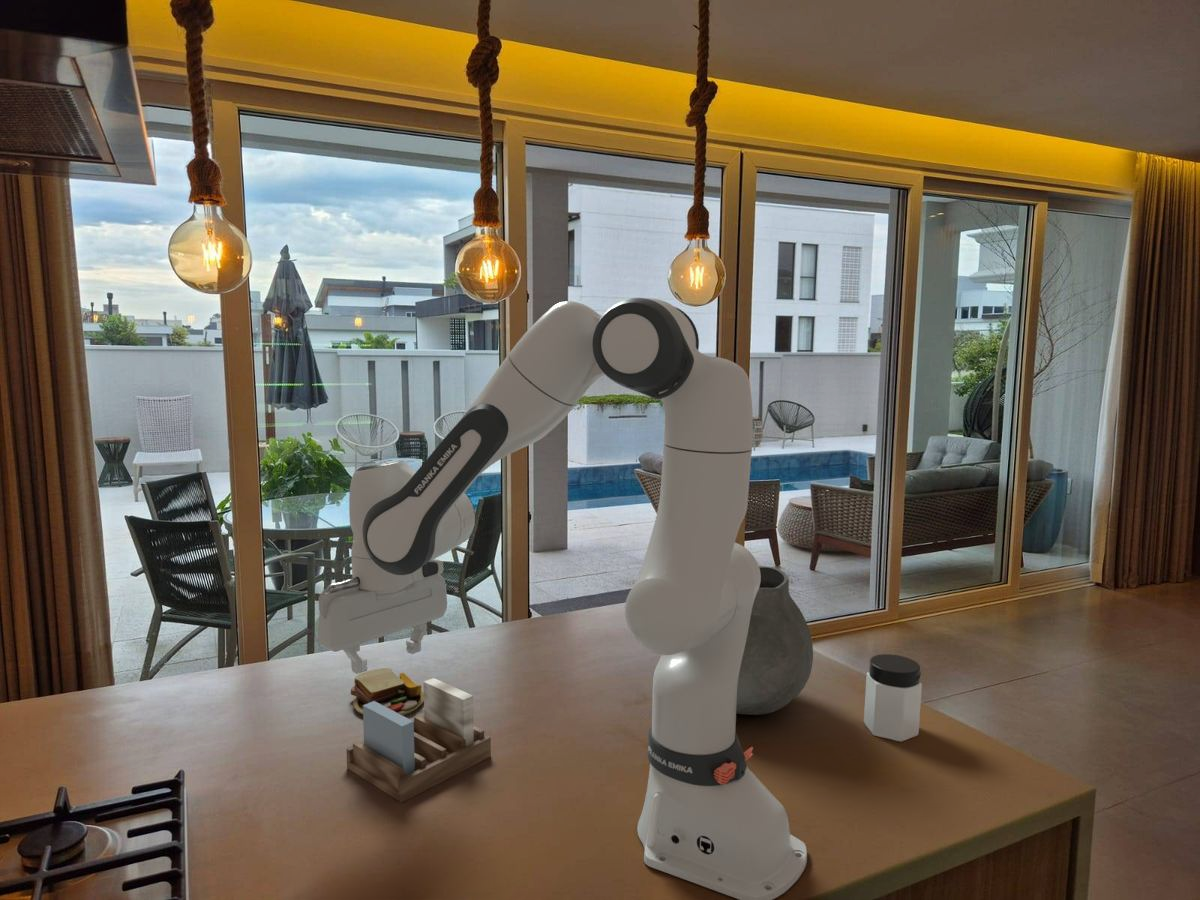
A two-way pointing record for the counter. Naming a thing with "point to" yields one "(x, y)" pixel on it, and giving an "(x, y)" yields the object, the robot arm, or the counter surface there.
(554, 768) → the counter surface
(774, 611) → the ceramic pot
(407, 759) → the grey upright panel
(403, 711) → the toy sandwich meal
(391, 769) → the rack
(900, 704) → the jar
